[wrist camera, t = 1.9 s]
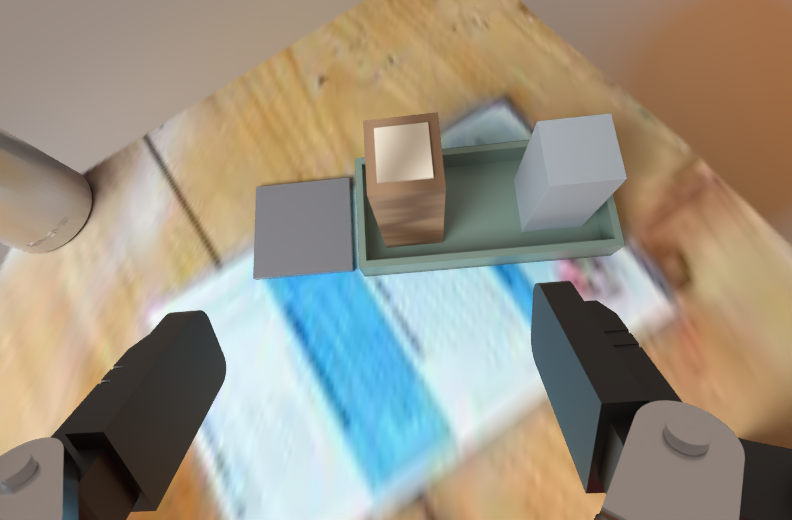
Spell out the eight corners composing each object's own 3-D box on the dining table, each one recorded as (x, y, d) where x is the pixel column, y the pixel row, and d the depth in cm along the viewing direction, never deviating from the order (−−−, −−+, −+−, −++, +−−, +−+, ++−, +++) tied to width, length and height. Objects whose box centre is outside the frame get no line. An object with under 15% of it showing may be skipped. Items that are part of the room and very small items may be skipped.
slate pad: (256, 279, 38) (253, 278, 37) (258, 189, 40) (256, 186, 40) (353, 271, 37) (352, 269, 36) (350, 180, 40) (348, 177, 39)
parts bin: (364, 276, 37) (359, 268, 34) (360, 173, 40) (354, 158, 37) (610, 255, 35) (624, 245, 33) (587, 149, 38) (598, 132, 36)
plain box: (522, 232, 36) (549, 186, 28) (513, 180, 38) (537, 121, 29) (580, 226, 36) (627, 178, 27) (570, 174, 37) (611, 113, 29)
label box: (386, 247, 37) (366, 194, 26) (383, 189, 38) (362, 117, 28) (442, 242, 37) (445, 186, 26) (437, 184, 38) (437, 109, 27)
